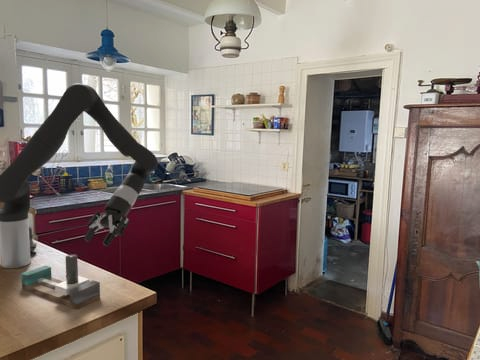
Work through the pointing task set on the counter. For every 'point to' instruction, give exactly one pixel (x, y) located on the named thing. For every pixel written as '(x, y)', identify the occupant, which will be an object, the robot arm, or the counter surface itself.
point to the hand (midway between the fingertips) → (95, 242)
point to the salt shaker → (31, 243)
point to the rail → (45, 286)
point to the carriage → (70, 276)
